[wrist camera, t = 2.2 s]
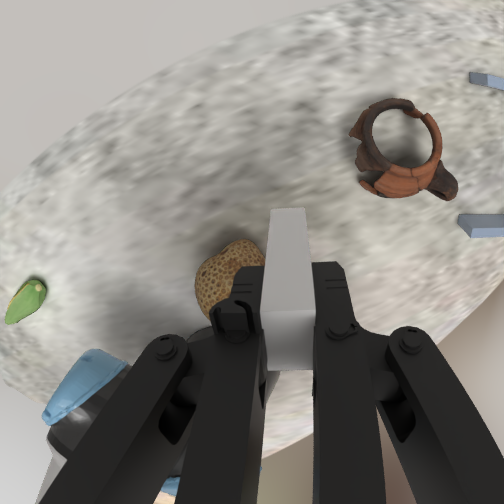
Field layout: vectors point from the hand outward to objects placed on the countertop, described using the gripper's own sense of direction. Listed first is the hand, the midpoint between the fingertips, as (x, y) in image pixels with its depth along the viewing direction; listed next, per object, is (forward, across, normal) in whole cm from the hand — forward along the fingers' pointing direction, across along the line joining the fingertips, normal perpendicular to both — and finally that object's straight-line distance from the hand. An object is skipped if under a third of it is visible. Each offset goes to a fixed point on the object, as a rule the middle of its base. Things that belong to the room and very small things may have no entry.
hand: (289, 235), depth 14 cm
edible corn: (+18, +48, +20) cm, 55 cm away
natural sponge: (+18, +6, +13) cm, 23 cm away
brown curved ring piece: (+18, -11, +1) cm, 21 cm away
